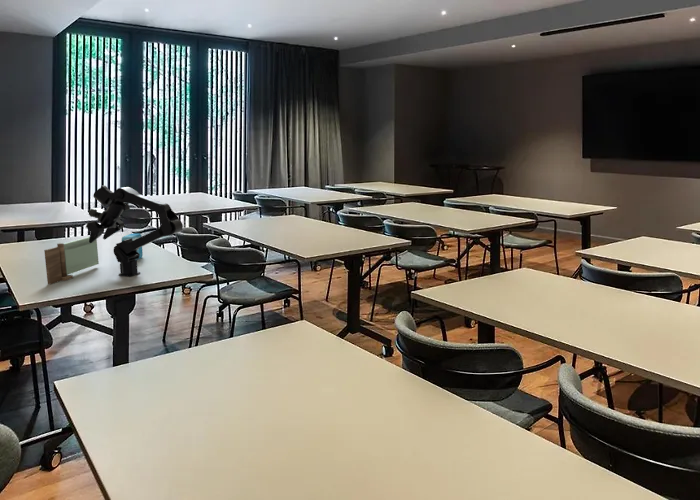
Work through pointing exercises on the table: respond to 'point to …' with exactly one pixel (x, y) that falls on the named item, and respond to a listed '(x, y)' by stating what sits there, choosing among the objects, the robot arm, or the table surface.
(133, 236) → the data package
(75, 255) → the sage green panel
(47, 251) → the brown piece
